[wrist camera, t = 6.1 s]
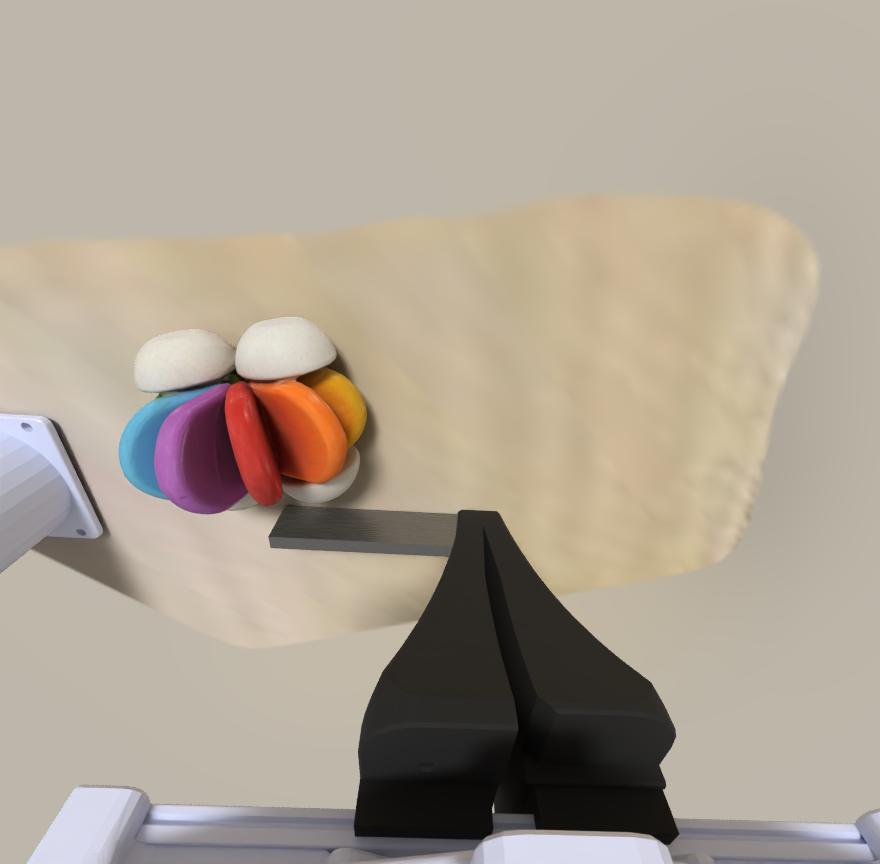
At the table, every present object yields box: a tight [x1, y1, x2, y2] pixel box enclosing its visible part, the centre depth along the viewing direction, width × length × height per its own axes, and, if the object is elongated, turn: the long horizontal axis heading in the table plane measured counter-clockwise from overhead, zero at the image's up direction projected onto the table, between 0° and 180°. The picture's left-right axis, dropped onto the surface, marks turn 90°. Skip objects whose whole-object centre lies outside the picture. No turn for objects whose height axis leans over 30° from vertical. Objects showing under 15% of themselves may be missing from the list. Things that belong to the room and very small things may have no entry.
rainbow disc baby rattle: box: [119, 317, 367, 514], centre depth 16 cm, size 8×10×7 cm
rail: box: [269, 506, 458, 557], centre depth 22 cm, size 10×1×2 cm, turn 87°
